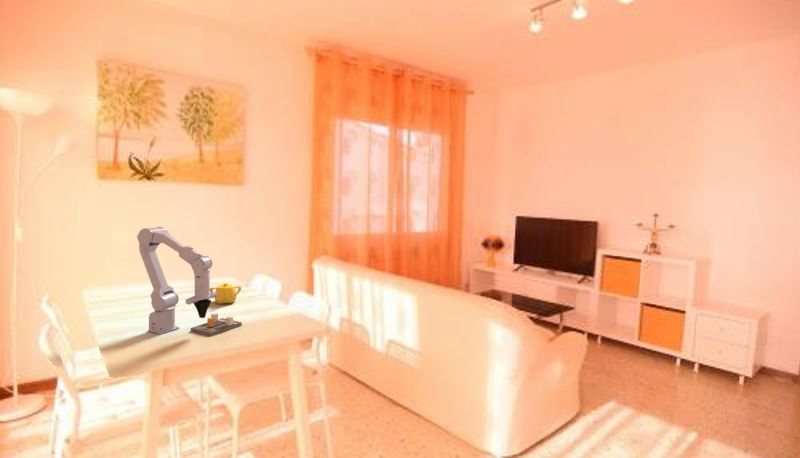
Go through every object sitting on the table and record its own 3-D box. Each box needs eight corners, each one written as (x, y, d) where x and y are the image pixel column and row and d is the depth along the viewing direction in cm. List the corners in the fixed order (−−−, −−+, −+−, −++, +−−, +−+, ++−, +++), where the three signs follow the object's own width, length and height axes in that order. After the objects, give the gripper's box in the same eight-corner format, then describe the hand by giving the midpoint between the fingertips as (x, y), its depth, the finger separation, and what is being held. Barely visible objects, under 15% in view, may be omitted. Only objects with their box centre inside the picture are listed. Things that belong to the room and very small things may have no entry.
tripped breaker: (210, 327, 188) (210, 319, 188) (207, 326, 189) (207, 318, 189) (214, 325, 190) (214, 317, 190) (211, 325, 191) (211, 317, 191)
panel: (211, 336, 183) (211, 324, 182) (190, 331, 188) (190, 319, 187) (241, 325, 198) (241, 314, 198) (222, 321, 203) (222, 310, 203)
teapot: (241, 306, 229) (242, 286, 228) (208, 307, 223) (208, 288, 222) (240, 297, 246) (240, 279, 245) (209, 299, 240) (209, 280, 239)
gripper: (194, 290, 176) (194, 323, 177) (222, 283, 189) (222, 314, 190) (181, 287, 179) (182, 320, 180) (210, 281, 192) (211, 312, 193)
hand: (202, 317), depth 185 cm, fingers closed
